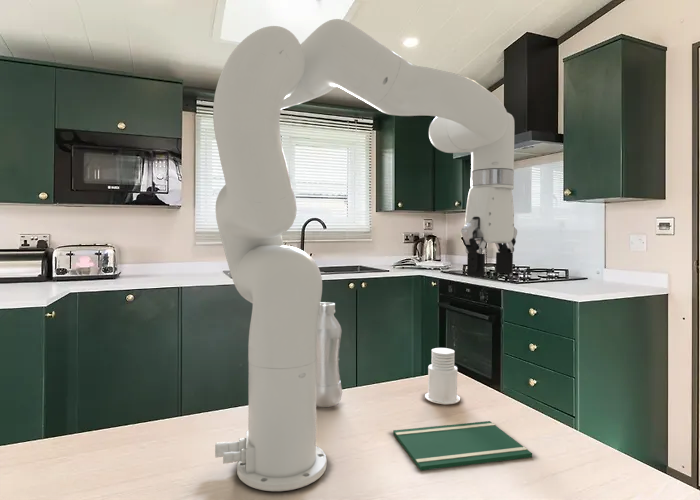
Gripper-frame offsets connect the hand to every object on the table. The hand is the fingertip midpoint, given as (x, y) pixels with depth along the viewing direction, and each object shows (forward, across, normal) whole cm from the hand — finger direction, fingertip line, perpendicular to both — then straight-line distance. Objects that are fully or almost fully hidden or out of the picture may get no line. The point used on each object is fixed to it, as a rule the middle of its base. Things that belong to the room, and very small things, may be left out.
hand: (490, 274), depth 82 cm
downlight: (+26, 0, -10) cm, 28 cm away
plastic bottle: (+26, +20, -24) cm, 41 cm away
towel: (+26, +14, +4) cm, 30 cm away
